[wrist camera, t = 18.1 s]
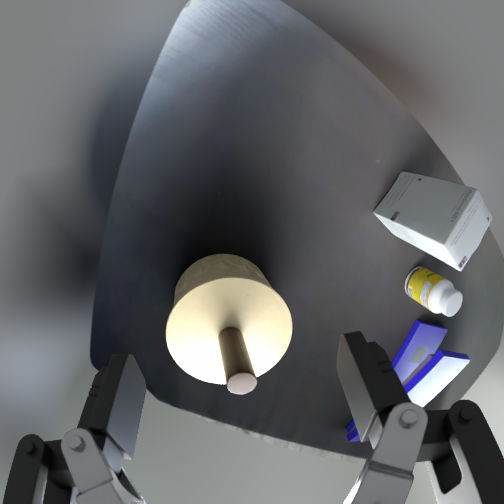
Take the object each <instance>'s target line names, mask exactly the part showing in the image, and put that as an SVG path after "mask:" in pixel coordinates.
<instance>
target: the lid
mask: <svg viewBox="0 0 504 504" xmlns="http://www.w3.org/2000/svg"><path fill="white" fill-rule="evenodd" d="M291 335H292V319H291V315H290V312H289V309H288V307H287V305H286V303H285V302H284V300H283V299H282V297H281V296H280V295H279V294H278V293H277V292H276V291H275V290H274V289H273V288H271V287H270V286H268V285H266V284H265V283H263V282H260V281H258V280H255V279H252V278H248V277H243V276H223V277H217V278H213V279H210V280H206V281H204V282H202V283H200V284H197V285H196V286H194V287H193V288H191V289H190V290H188V291H187V292H186V293H185V294H183V295H182V297H181V298H180V299H179V300H178V301H177V302H176V304H175V305H174V307H173V308H172V310H171V312H170V314H169V317H168V321H167V326H166V341H167V345H168V348H169V351H170V353H171V355H172V357H173V359H174V360H175V361H176V363H177V364H178V365H179V366H180V367H181V368H182V369H183V370H184V371H186V372H187V373H189V374H190V375H192V376H194V377H196V378H198V379H200V380H203V381H206V382H211V383H217V384H226V385H227V388H228V389H229V391H231V392H232V393H235V394H245V393H248V392H250V391H252V390H253V389H254V388H255V387H256V385H257V378H256V377H258V376H260V375H261V374H263V373H265V372H266V371H268V370H269V369H271V368H272V367H273V366H274V365H275V364H276V363H277V362H278V361H279V360H280V359H281V357H282V356H283V354H284V353H285V351H286V349H287V347H288V345H289V342H290V339H291Z"/></svg>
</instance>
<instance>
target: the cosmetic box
mask: <svg viewBox="0 0 504 504" xmlns="http://www.w3.org/2000/svg"><path fill="white" fill-rule="evenodd" d="M373 213H374V214H375V215H376V216H377V217H378V218H379V220H380V221H381V222H382V223H383V224H384V225H385V226H386V227H387V228H388V229H389V230H390V231H391V232H392V233H393V234H394V235H395V236H397V237H399V238H401V239H403V240H405V241H406V242H408V243H410V244H412V245H414V246H416V247H418V248H420V249H421V250H423V251H425V252H427V253H429V254H431V255H432V256H434V257H436V258H438V259H440V260H441V261H443V262H445V263H447V264H448V265H450V266H452V267H454V268H455V269H457V270H459V271H461V270H462V269H463V267H464V266H465V264H466V263H467V261H468V260H469V258H470V257H471V255H472V253H473V252H474V251H475V250H476V249H477V247H478V246H479V244H480V242H481V240H482V237H483V235H484V233H485V232H486V230H487V228H488V226H489V224H490V223H491V221H492V216H491V214H490V212H489V210H488V208H487V206H486V204H485V202H484V200H483V198H482V196H481V194H480V192H479V190H478V189H475V188H472V187H468V186H464V185H460V184H457V183H453V182H449V181H445V180H441V179H436V178H432V177H428V176H423V175H419V174H414V173H409V172H404V171H403V172H401V173H400V175H399V176H398V179H397V180H396V182H395V183H394V185H393V186H392V188H391V189H390V191H389V192H388V193H387V195H386V196H385V197H384V199H383V200H382V201H381V203H380V204H379V205H378V206H377V208H376V209H375V210H374V212H373Z"/></svg>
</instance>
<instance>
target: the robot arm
mask: <svg viewBox="0 0 504 504" xmlns="http://www.w3.org/2000/svg"><path fill="white" fill-rule="evenodd" d="M337 372H338V376H339V379H340V381H341V384H342V387H343V390H344V393H345V396H346V399H347V401H348V404H349V407H350V410H351V413H352V416H353V419H354V422H355V425H356V428H357V431H358V434H359V437H360V440H361V442H365V441H369V440H370V441H371V444H372V449H371V452H370V454H369V456H368V458H367V460H366V463H365V465H364V467H363V469H362V471H361V473H360V475H359V477H358V479H357V481H356V483H355V485H354V487H353V489H352V491H351V492H350V494H349V496H348V497H347V499H346V501H345V502H344V504H405V501H406V499H407V496H408V494H409V491H410V489H411V486H412V483H413V479H414V476H413V475H412V472H413V469H414V465H415V463H416V462H425V464H426V467H427V470H428V473H429V477H430V480H431V483H432V486H433V489H434V493H435V496H436V499H437V503H438V504H504V458H503V456H502V453H501V451H500V449H499V446H498V444H497V442H496V440H495V438H494V436H493V434H492V431H491V429H490V427H489V425H488V423H487V421H486V419H485V417H484V415H483V413H482V411H481V410H480V408H479V406H478V405H477V404H476V403H474V402H472V401H470V400H460V401H457V402H455V403H454V404H453V405H452V406H451V408H450V409H449V410H433V411H429V410H424V409H423V408H422V407H421V406H419V405H418V404H415V403H412V401H411V400H410V398H409V396H408V394H407V392H406V390H405V389H404V387H403V385H402V383H401V381H400V379H399V377H398V375H397V373H396V371H395V370H394V367H393V365H392V363H391V362H390V361H389V358H388V356H387V354H386V352H385V350H384V349H383V348H382V347H380V346H379V345H378V344H377V343H376V342H369V343H367V342H366V340H365V338H364V336H363V334H362V333H361V331H356V332H351V333H346V334H341V335H340V340H339V348H338V355H337ZM145 394H146V383H145V379H144V377H143V375H142V373H141V371H140V369H139V367H138V365H137V363H136V360H135V358H134V356H133V355H132V354H113V355H112V356H111V359H110V362H109V364H108V367H107V366H103V367H102V368H101V369H100V371H99V372H98V373H97V374H96V375H95V378H94V380H93V383H92V388H91V389H90V391H89V396H88V397H87V400H86V403H85V406H84V409H83V412H82V415H81V418H80V421H79V424H78V426H77V428H75V429H72V430H70V431H68V432H67V433H66V434H65V435H64V437H63V439H61V440H54V441H46V442H44V441H43V440H42V439H41V438H40V437H39V436H37V435H35V434H29V435H26V436H24V437H23V438H22V439H21V440H20V442H19V443H18V446H17V449H16V453H15V456H14V460H13V463H12V467H11V470H10V474H9V478H8V482H7V486H6V490H5V495H4V499H3V504H147V503H146V502H145V500H144V499H143V498H142V496H141V495H140V493H139V492H138V490H137V488H136V487H135V485H134V484H133V482H132V481H131V479H130V478H129V476H128V474H127V473H126V471H125V469H124V468H123V466H122V462H123V459H133V456H134V450H135V444H136V439H137V433H138V428H139V423H140V418H141V413H142V408H143V403H144V398H145ZM46 480H47V484H46V489H45V495H44V500H43V503H42V498H43V492H44V487H45V482H46Z"/></svg>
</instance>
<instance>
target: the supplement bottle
mask: <svg viewBox="0 0 504 504" xmlns="http://www.w3.org/2000/svg"><path fill="white" fill-rule="evenodd" d="M405 291H406V293H407V294H408V295H409V296H410V297H411V298H413V299H414V300H416V301H417V302H419V303H420V304H422V305H423V306H425V307H426V308H427V309H429V310H430V311H432V312H434V313H443V314H444V315H446V316H448V317H451V316H453V315H454V314H456V313H457V311H458V310H459V308H460V306H461V304H462V294H461V293H460V292H459V291H457V290H456V289H454V286H453V284H452V283H451V282H450V281H449V280H447V279H445V278H443V277H441V276H439V275H438V274H436V273H434V272H432V271H430V270H428V269H426V268H424V267H416V268H414V269H413V270H412V271H411V272H410V273H409V275H408V276H407V278H406V281H405Z"/></svg>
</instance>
